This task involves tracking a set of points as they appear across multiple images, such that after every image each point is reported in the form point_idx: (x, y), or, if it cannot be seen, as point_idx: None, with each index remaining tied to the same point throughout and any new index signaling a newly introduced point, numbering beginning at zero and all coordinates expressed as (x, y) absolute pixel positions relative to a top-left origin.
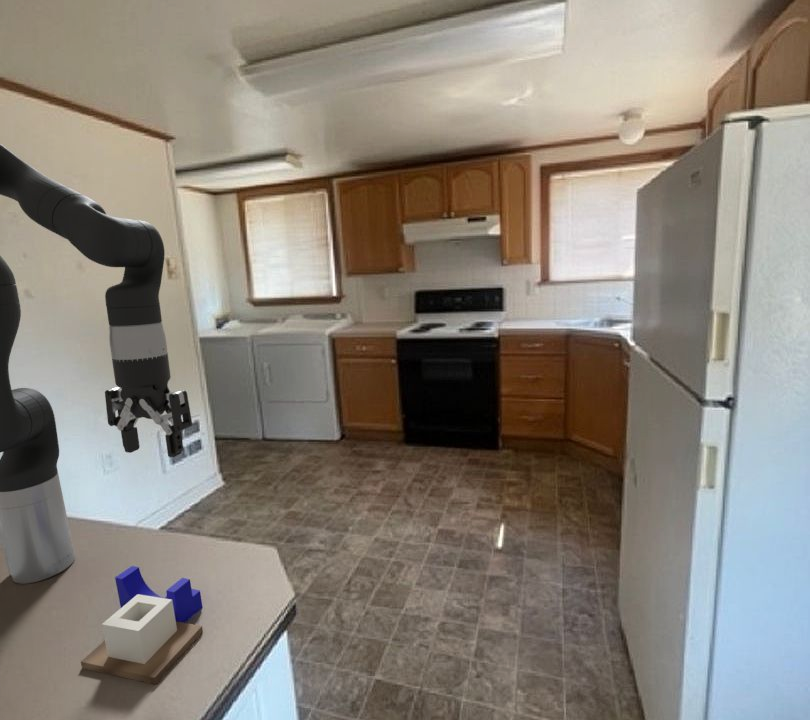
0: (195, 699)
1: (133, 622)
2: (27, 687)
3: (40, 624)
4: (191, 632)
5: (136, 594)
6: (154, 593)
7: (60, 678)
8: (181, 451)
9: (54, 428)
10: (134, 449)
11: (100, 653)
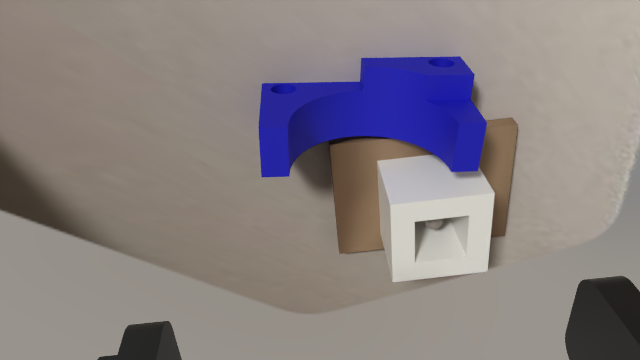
0: (585, 224)
1: (458, 262)
2: (286, 289)
3: (128, 208)
4: (506, 145)
5: (309, 134)
6: (331, 96)
7: (322, 265)
8: (625, 281)
9: None
10: (174, 356)
11: (358, 232)
